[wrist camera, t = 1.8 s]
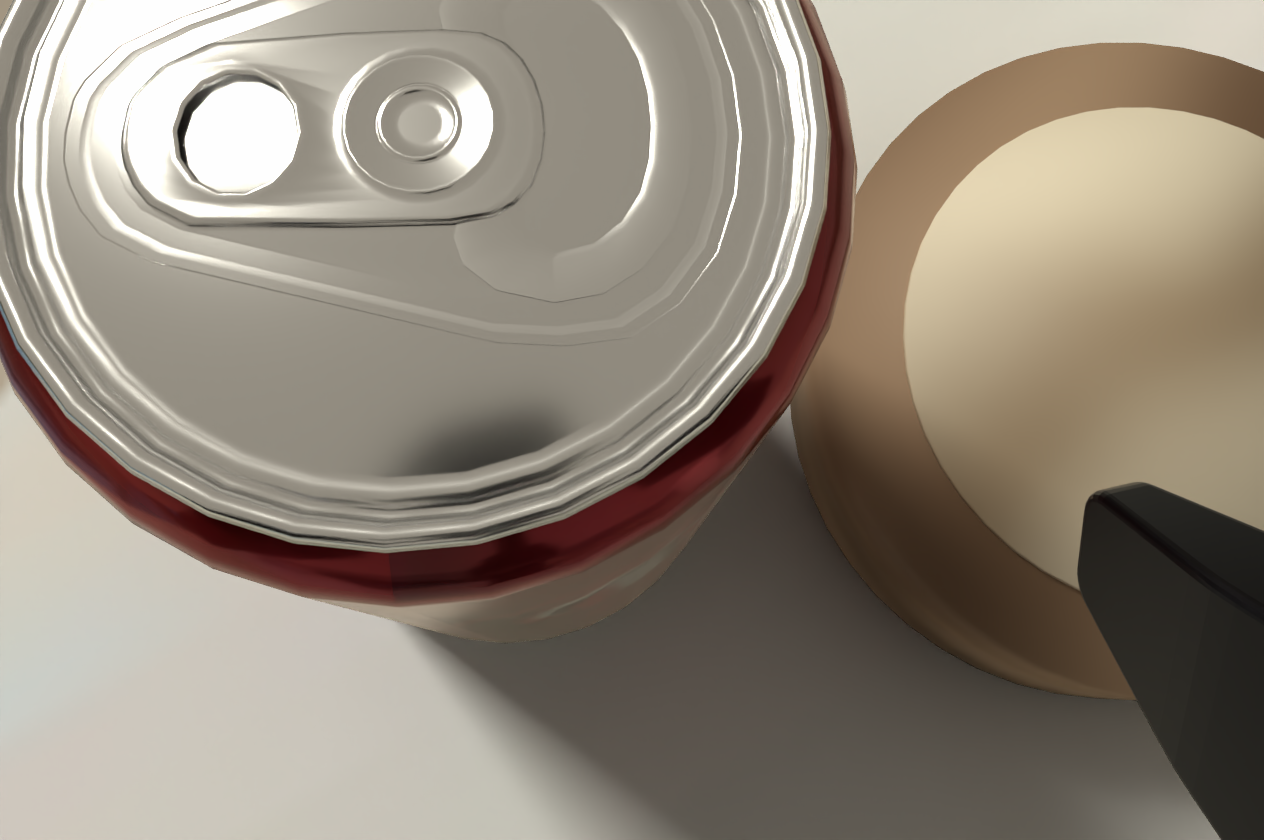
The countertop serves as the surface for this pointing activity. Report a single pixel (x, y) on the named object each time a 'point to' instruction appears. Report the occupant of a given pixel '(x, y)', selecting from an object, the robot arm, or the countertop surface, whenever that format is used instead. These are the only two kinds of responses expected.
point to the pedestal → (1043, 343)
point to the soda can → (420, 281)
